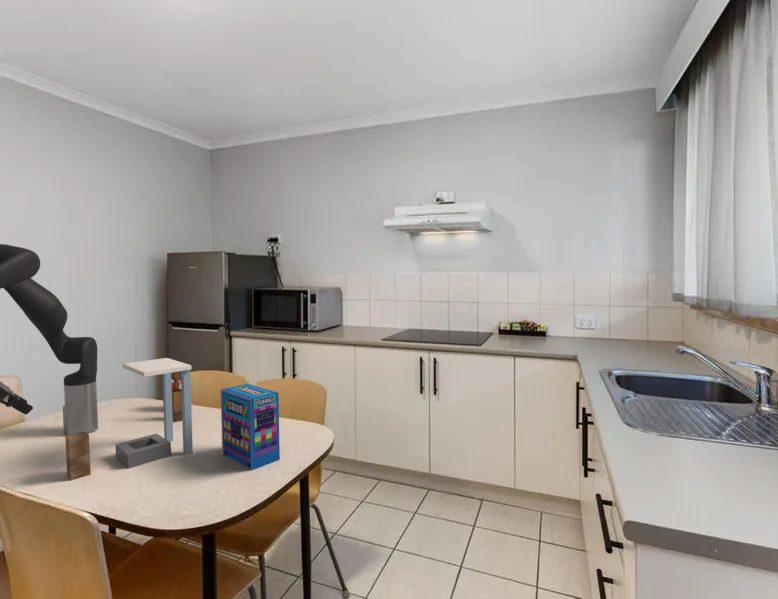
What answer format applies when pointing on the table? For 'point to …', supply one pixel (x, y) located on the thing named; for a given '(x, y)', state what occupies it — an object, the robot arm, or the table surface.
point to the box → (250, 425)
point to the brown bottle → (176, 398)
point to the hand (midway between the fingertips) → (27, 407)
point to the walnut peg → (78, 455)
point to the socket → (143, 450)
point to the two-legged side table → (170, 394)
